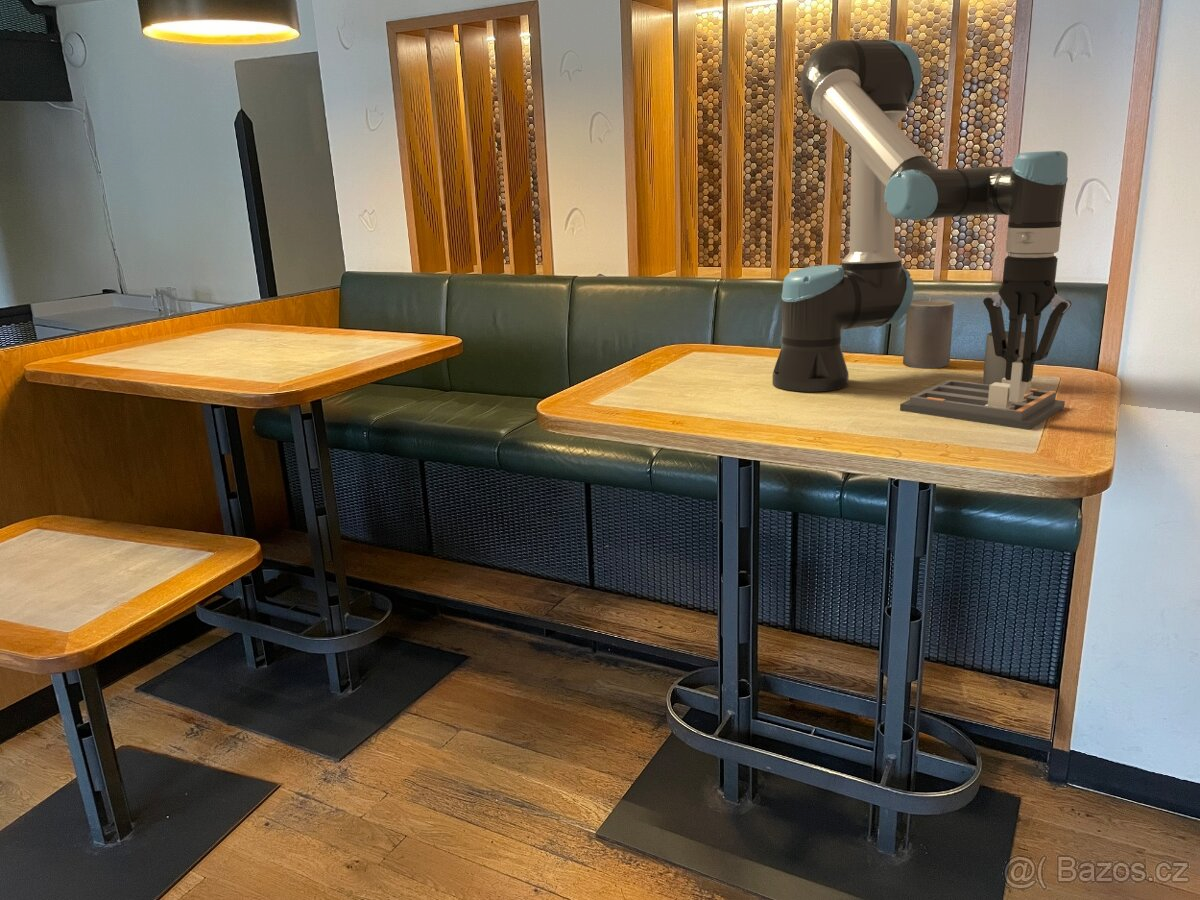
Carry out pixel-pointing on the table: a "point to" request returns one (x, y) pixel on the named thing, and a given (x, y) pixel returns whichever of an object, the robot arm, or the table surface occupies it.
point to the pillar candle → (928, 333)
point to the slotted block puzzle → (982, 405)
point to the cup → (997, 361)
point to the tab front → (999, 396)
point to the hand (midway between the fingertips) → (1016, 400)
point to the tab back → (1028, 388)
